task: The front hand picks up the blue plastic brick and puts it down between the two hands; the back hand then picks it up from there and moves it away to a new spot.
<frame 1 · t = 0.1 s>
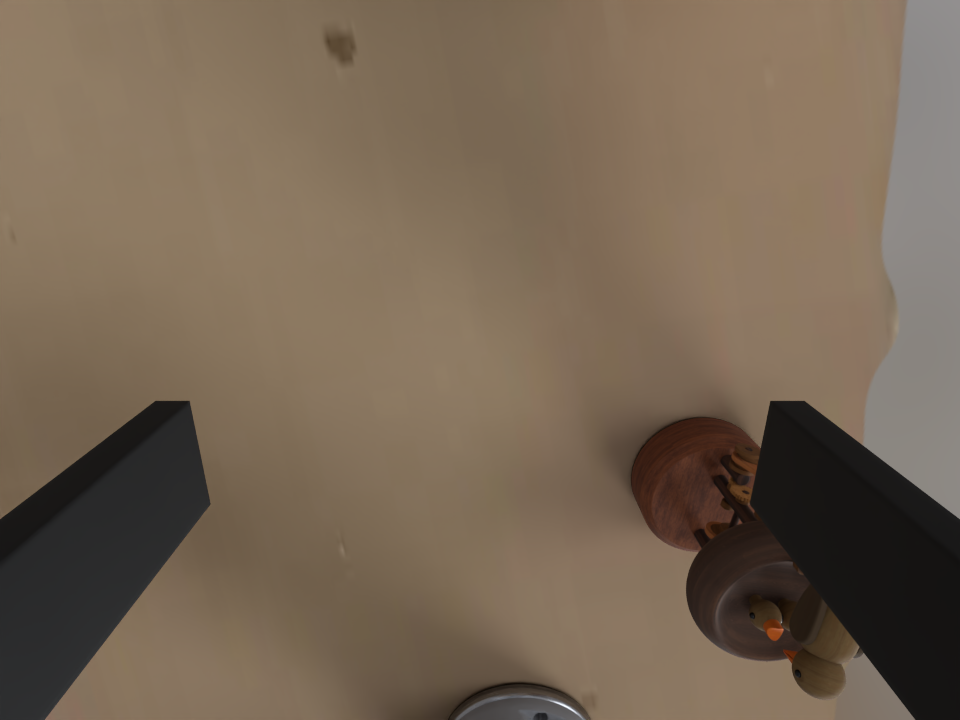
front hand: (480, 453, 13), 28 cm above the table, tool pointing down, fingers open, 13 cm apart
music box: (692, 481, 46), on the table
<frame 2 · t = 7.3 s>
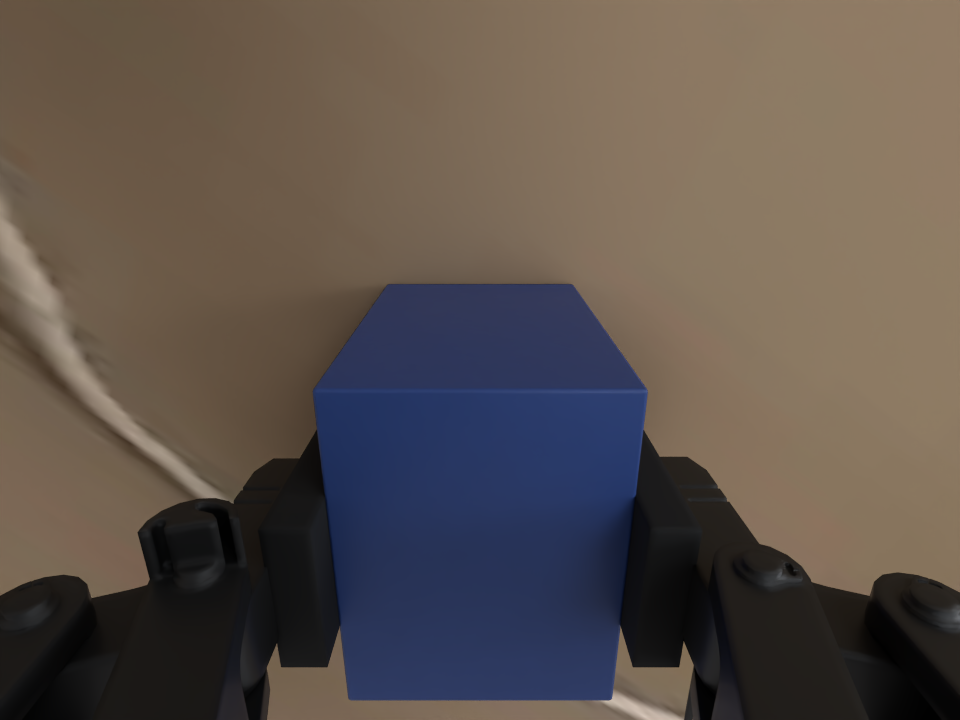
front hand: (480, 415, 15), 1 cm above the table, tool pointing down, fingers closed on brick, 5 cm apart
brick: (480, 393, 16), on the table, touching front hand
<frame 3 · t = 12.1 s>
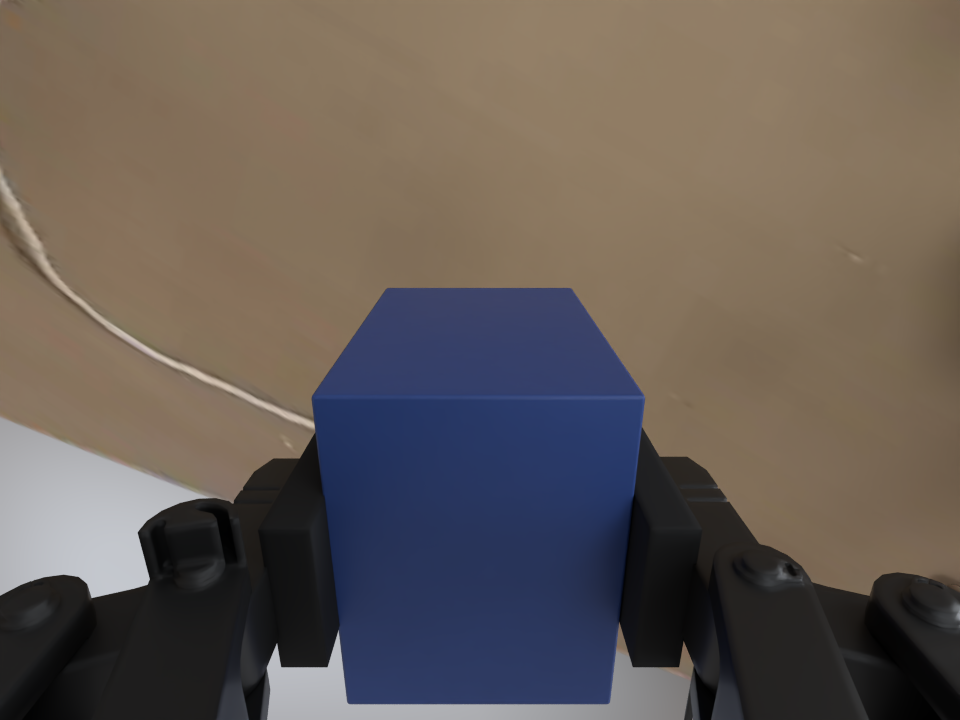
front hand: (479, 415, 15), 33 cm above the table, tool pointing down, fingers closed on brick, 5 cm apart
brick: (479, 396, 16), point 31 cm above the table, touching front hand
when the front hand's fingers open (3 cm above the table, at t = 17.2 s): brick drops 2 cm, on the table.
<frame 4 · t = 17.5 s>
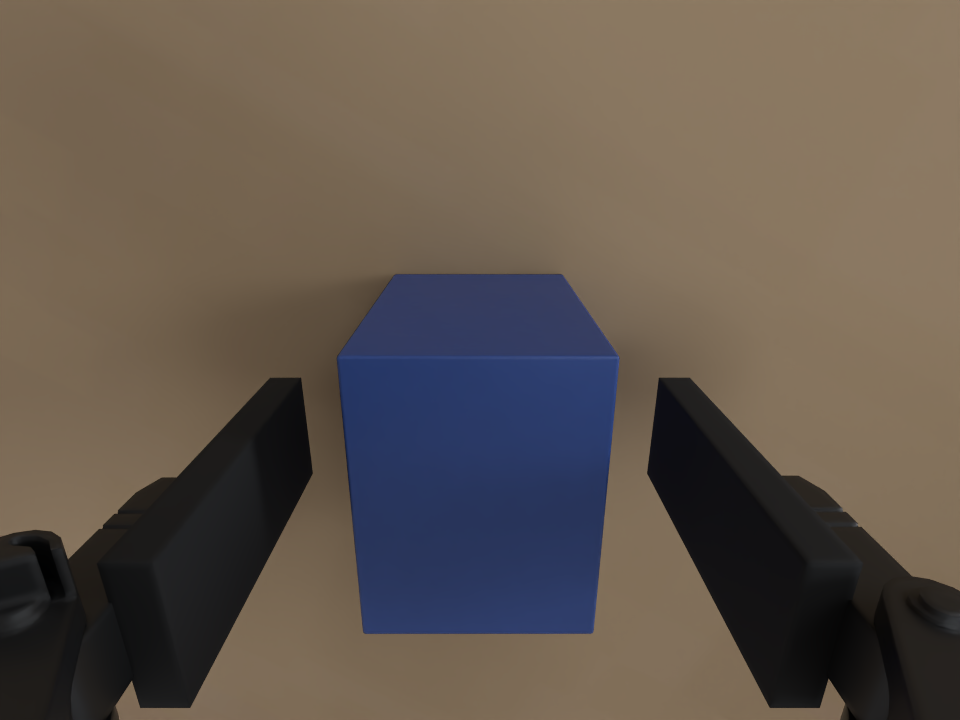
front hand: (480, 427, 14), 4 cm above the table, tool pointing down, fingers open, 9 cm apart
brick: (478, 374, 17), on the table
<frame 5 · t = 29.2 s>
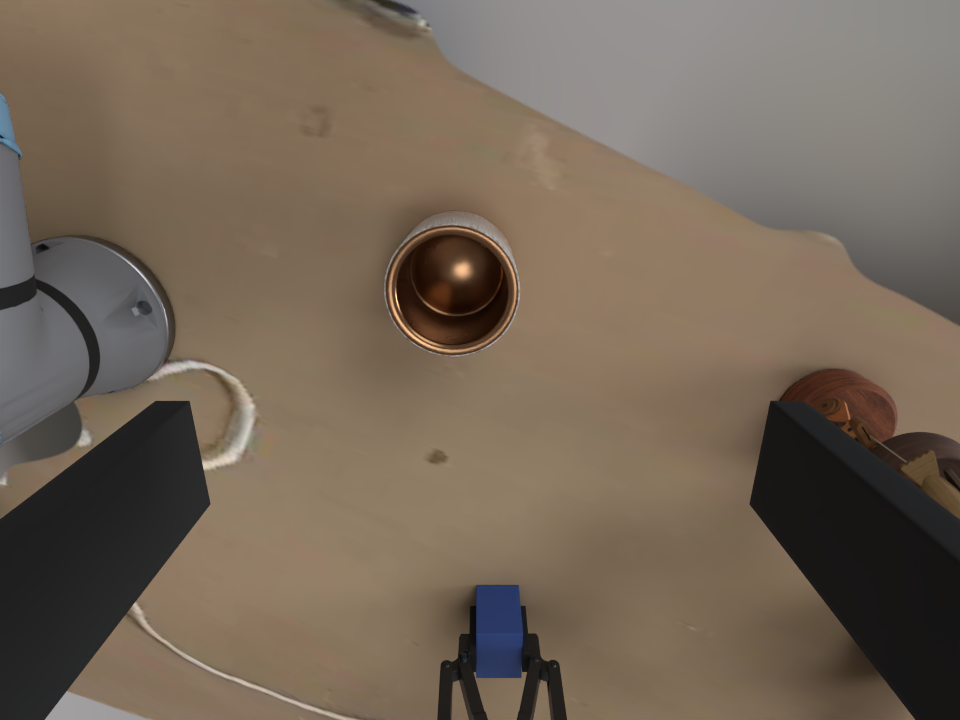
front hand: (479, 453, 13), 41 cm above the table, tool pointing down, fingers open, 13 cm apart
back hand: (497, 615, 65), fingers closed on brick, 5 cm apart
planter: (456, 268, 52), on the table
brick: (497, 606, 66), on the table, touching back hand
music box: (828, 418, 58), on the table
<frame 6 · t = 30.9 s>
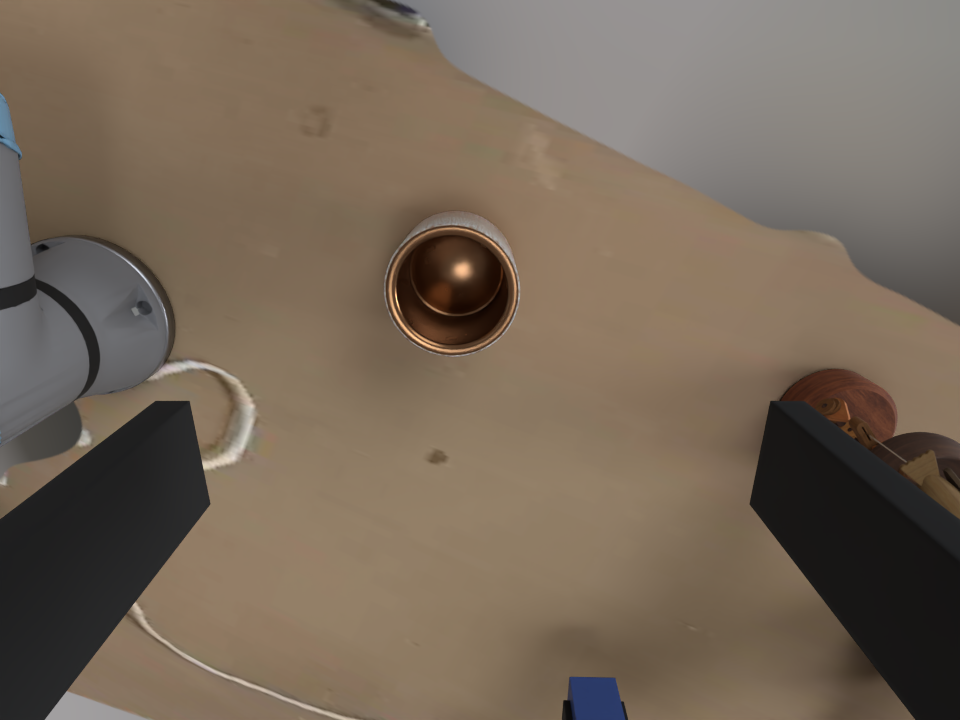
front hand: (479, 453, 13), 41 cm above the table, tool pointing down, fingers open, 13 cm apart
planter: (456, 268, 52), on the table
brick: (590, 698, 61), point 8 cm above the table, touching back hand
music box: (828, 418, 58), on the table
when the back hand's fingers open (3 cm above the table, at t = 32.7 s): brick drops 2 cm, on the table.
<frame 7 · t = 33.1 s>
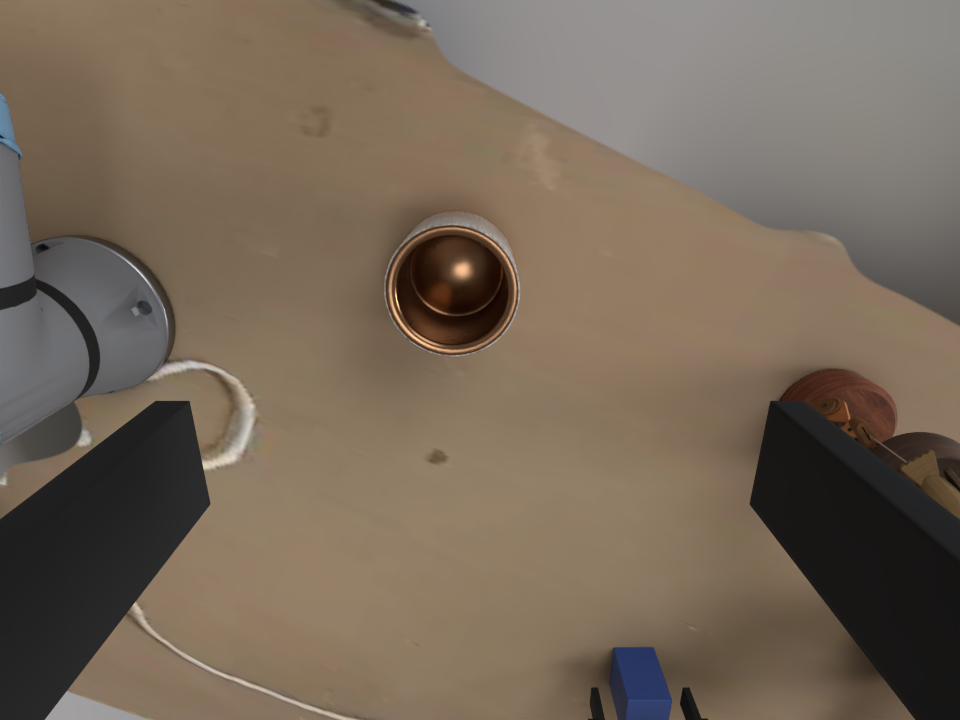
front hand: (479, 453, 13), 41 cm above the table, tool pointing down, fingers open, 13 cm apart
planter: (456, 268, 52), on the table
brick: (631, 666, 70), on the table
music box: (828, 418, 58), on the table
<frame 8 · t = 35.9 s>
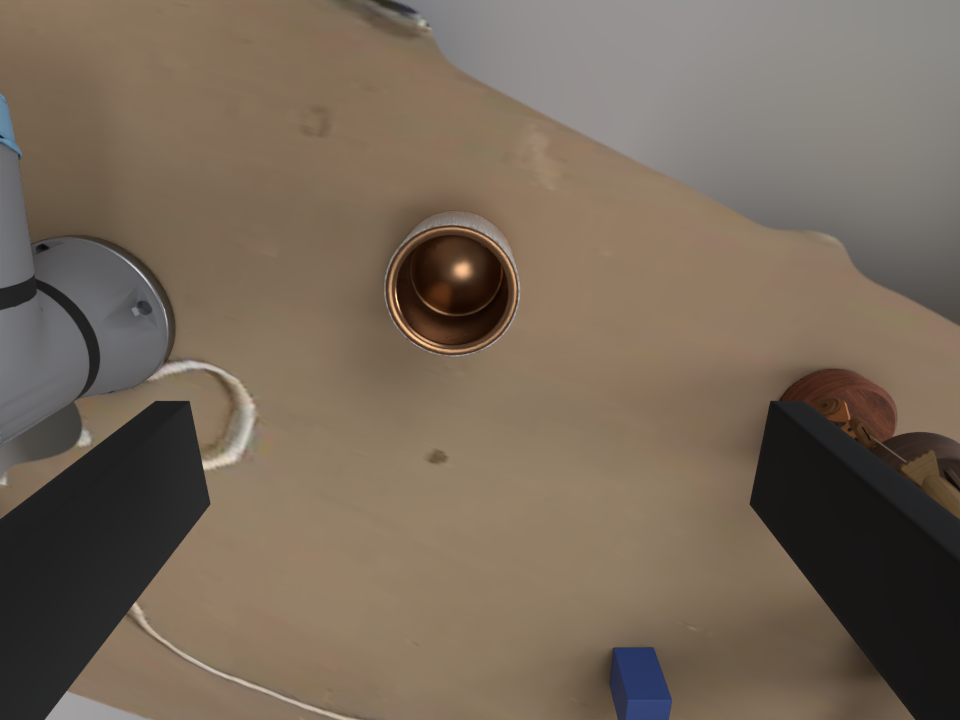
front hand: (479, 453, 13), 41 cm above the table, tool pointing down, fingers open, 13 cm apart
planter: (456, 268, 52), on the table
brick: (631, 666, 70), on the table
music box: (828, 418, 58), on the table
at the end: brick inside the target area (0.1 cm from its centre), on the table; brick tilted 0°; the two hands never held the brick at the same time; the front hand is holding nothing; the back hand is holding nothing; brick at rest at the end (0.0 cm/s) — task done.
